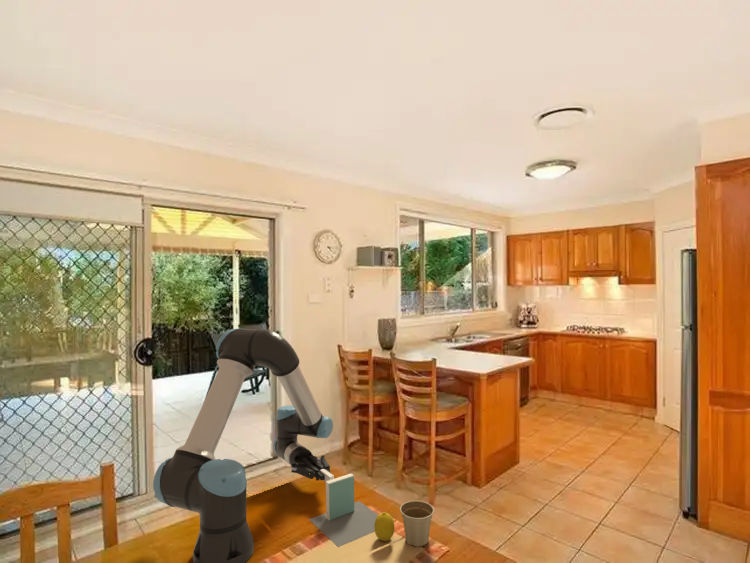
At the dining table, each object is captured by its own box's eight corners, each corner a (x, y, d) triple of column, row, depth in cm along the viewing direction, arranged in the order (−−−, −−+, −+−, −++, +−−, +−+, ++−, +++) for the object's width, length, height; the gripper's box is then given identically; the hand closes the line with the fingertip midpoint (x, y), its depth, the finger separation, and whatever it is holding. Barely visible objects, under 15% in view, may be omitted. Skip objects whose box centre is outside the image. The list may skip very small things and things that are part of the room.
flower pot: (441, 540, 120) (441, 509, 120) (419, 555, 113) (418, 522, 113) (415, 526, 127) (415, 497, 127) (393, 540, 120) (392, 509, 120)
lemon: (392, 548, 116) (392, 518, 116) (372, 546, 117) (372, 516, 118) (396, 536, 122) (395, 508, 122) (376, 534, 123) (376, 506, 123)
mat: (338, 549, 116) (338, 546, 116) (309, 521, 130) (309, 519, 130) (391, 526, 127) (391, 524, 127) (359, 502, 141) (359, 500, 141)
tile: (329, 521, 129) (329, 483, 129) (326, 518, 131) (325, 481, 131) (355, 511, 134) (354, 475, 134) (351, 508, 136) (351, 473, 136)
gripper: (315, 462, 160) (349, 486, 141) (281, 472, 153) (313, 498, 133) (314, 442, 160) (349, 463, 141) (281, 450, 153) (313, 474, 133)
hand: (331, 480), depth 137 cm, fingers closed
